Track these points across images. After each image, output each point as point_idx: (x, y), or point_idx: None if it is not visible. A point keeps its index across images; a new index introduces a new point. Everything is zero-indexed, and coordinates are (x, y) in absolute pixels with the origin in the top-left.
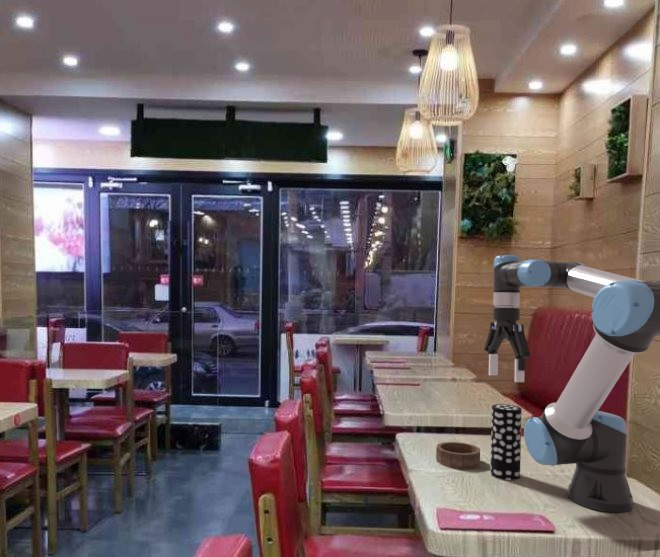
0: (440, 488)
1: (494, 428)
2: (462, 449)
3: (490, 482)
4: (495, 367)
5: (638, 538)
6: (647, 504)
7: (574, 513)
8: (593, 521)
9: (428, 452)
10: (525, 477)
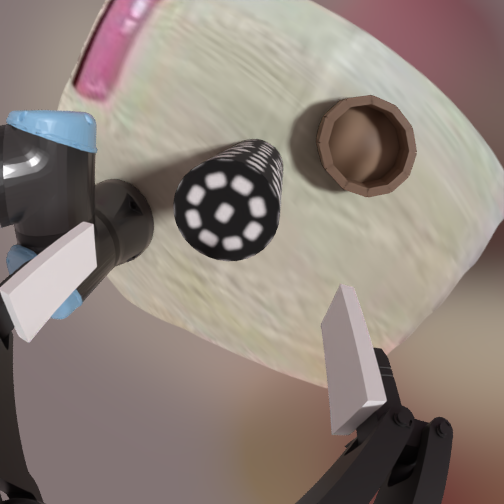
0: (247, 10)
1: (242, 150)
2: (385, 180)
3: (234, 110)
4: (332, 347)
5: None
6: None
7: None
8: None
9: (431, 138)
10: None
